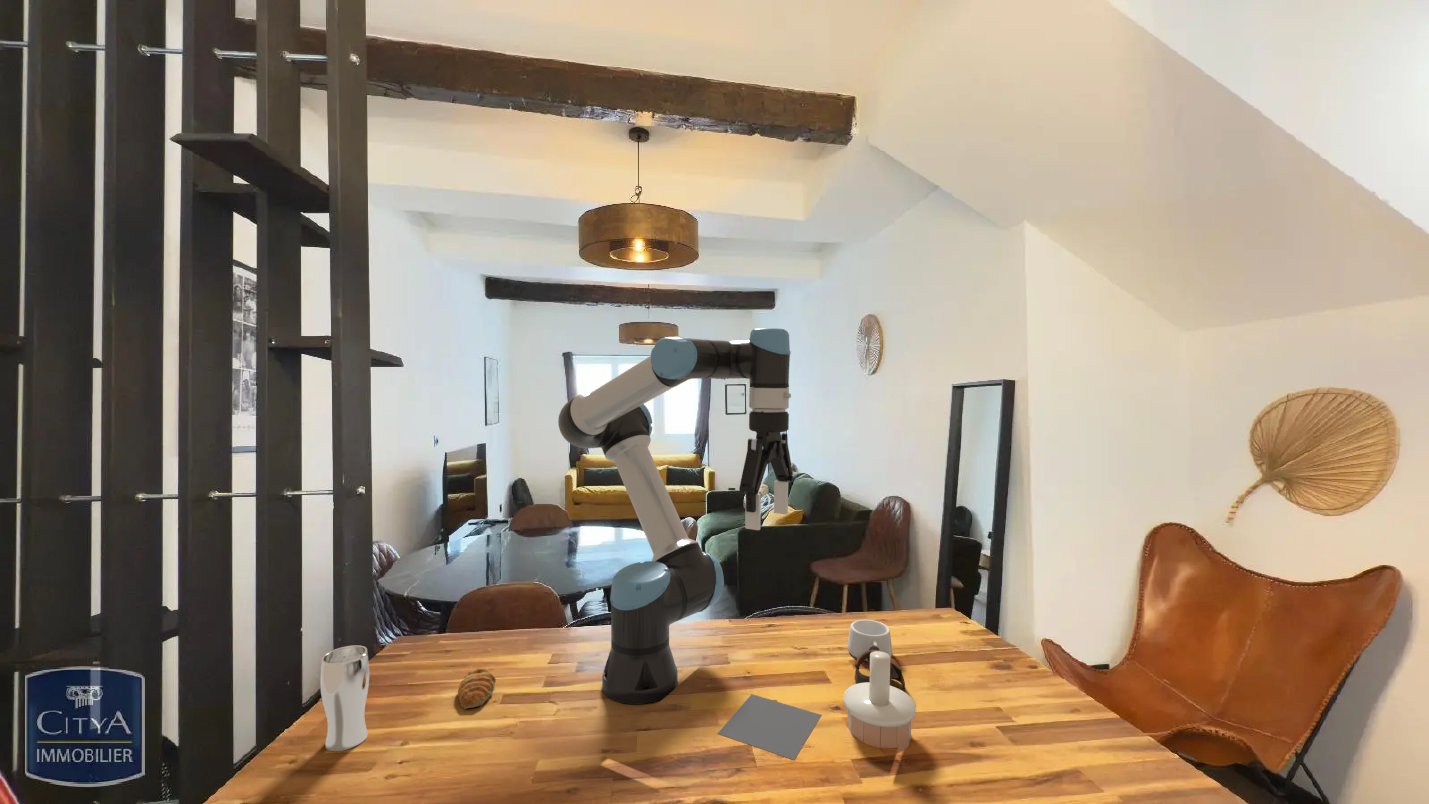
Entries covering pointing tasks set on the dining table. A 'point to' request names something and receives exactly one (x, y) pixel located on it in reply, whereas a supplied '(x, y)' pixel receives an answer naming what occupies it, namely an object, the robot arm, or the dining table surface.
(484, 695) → the pastry
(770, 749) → the mat
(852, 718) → the bowl
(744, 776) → the dining table surface
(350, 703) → the beer glass
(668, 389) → the robot arm
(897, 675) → the broken pottery
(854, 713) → the lid
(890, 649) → the mug
